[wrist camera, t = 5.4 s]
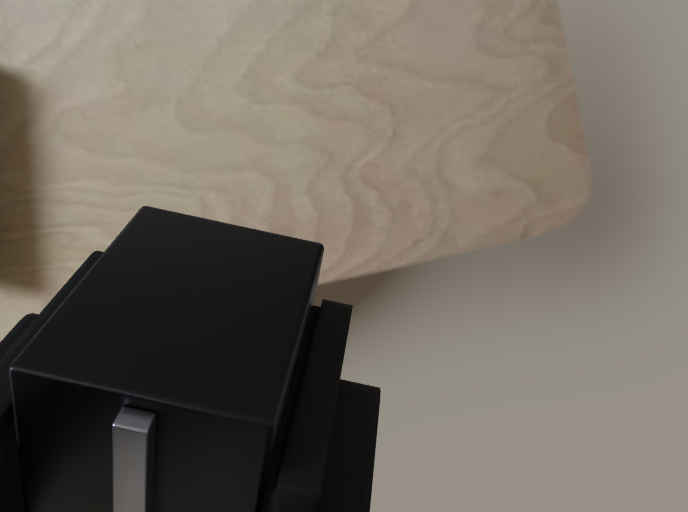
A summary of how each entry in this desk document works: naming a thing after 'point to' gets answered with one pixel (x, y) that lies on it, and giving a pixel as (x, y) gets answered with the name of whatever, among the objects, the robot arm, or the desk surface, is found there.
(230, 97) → the desk surface
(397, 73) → the desk surface
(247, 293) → the clip
